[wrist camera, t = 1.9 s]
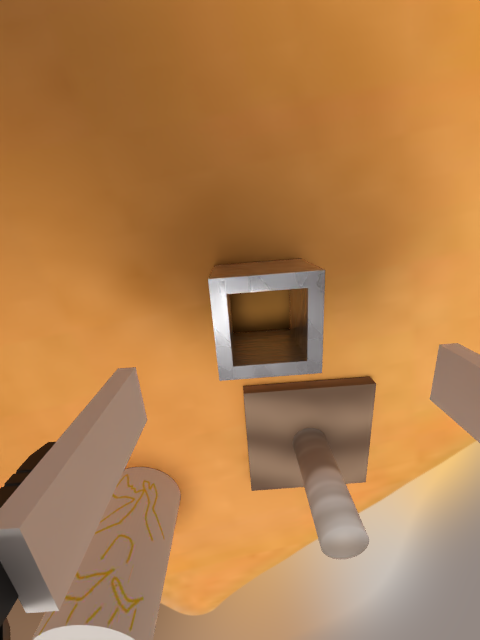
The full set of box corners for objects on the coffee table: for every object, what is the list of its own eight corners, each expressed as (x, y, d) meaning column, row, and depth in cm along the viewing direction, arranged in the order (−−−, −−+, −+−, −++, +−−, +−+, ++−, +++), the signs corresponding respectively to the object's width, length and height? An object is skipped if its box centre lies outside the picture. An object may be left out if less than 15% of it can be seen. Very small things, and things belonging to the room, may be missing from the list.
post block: (243, 386, 26) (248, 483, 16) (369, 376, 26) (452, 468, 16) (250, 480, 30) (259, 603, 20) (360, 472, 29) (421, 591, 20)
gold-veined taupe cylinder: (178, 466, 29) (142, 624, 17) (182, 520, 31) (153, 686, 20) (101, 466, 29) (13, 626, 17) (111, 520, 31) (41, 688, 20)
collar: (214, 265, 22) (208, 279, 16) (301, 258, 22) (325, 269, 16) (222, 344, 24) (219, 380, 18) (301, 338, 24) (322, 372, 18)
